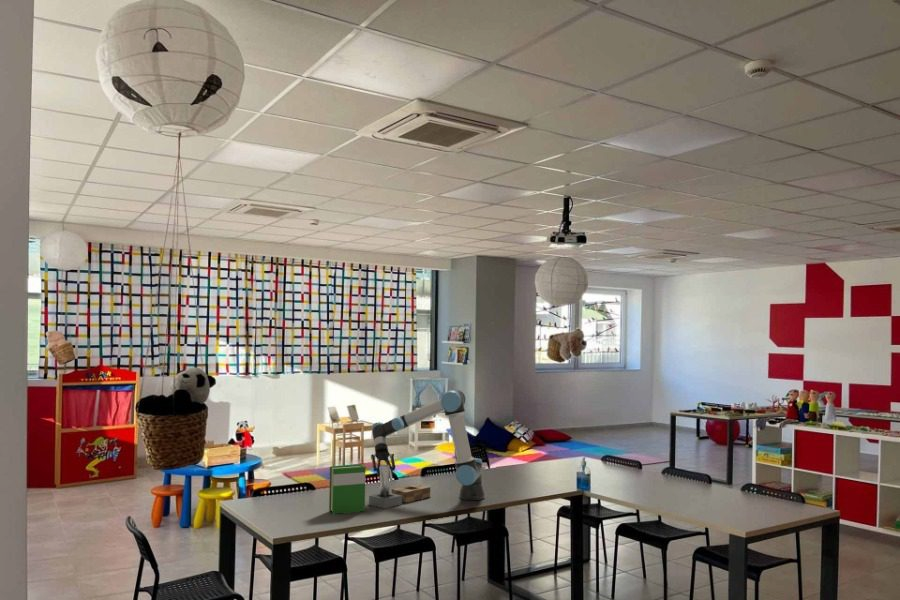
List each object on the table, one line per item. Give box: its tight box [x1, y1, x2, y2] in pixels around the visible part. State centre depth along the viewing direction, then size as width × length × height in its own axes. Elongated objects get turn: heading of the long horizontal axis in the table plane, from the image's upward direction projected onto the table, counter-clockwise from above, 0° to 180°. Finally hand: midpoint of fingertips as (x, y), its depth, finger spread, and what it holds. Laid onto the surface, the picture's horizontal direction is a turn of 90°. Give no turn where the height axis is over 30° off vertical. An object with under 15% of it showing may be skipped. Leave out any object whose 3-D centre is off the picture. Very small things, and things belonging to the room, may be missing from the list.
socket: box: [368, 492, 403, 509], centre depth 385 cm, size 13×13×5 cm
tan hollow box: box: [391, 484, 431, 503], centre depth 401 cm, size 12×20×6 cm, turn 137°
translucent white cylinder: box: [379, 464, 390, 498], centre depth 386 cm, size 5×5×18 cm
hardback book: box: [328, 464, 366, 515], centre depth 369 cm, size 18×7×24 cm, turn 114°
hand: (386, 480), depth 382 cm, fingers closed on translucent white cylinder, 5 cm apart
